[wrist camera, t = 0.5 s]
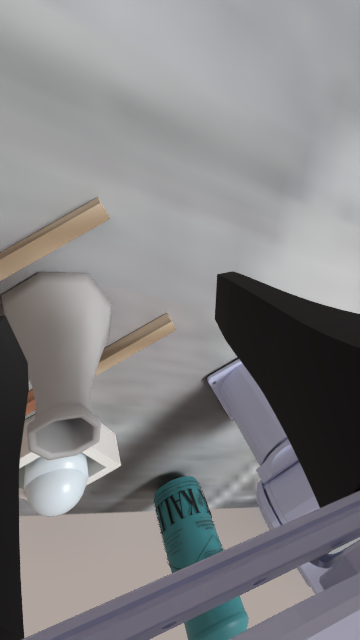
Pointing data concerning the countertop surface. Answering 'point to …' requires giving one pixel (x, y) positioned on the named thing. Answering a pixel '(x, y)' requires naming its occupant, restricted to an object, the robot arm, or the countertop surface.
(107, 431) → the dome housing
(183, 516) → the beverage bottle
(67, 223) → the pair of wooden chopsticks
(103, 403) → the countertop surface
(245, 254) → the countertop surface
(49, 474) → the dome
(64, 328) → the flask
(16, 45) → the countertop surface
